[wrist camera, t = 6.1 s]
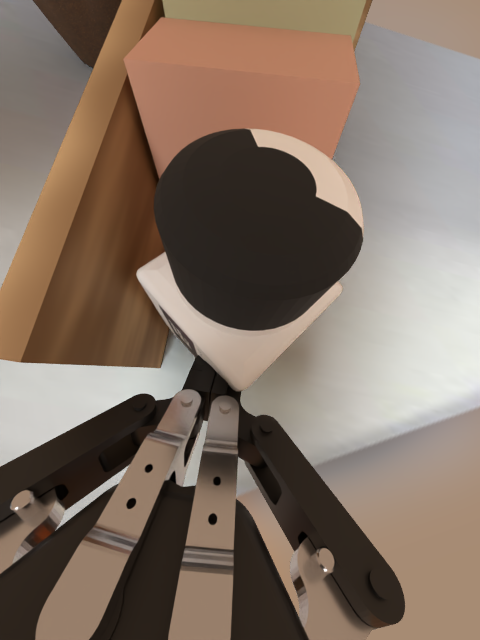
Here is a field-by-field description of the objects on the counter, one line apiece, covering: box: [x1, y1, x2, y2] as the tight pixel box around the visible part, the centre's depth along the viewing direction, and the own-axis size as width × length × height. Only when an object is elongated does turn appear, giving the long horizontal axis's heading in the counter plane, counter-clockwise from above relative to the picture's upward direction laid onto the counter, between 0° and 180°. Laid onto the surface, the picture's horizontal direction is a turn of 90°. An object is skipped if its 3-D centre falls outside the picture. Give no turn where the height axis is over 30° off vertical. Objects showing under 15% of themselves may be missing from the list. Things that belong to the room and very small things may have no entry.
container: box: [136, 128, 364, 391], centre depth 12 cm, size 8×8×13 cm
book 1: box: [162, 0, 366, 44], centre depth 16 cm, size 9×5×12 cm, turn 81°
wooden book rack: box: [0, 0, 372, 368], centre depth 16 cm, size 14×30×12 cm, turn 171°
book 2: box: [123, 17, 360, 179], centre depth 15 cm, size 9×5×12 cm, turn 82°
